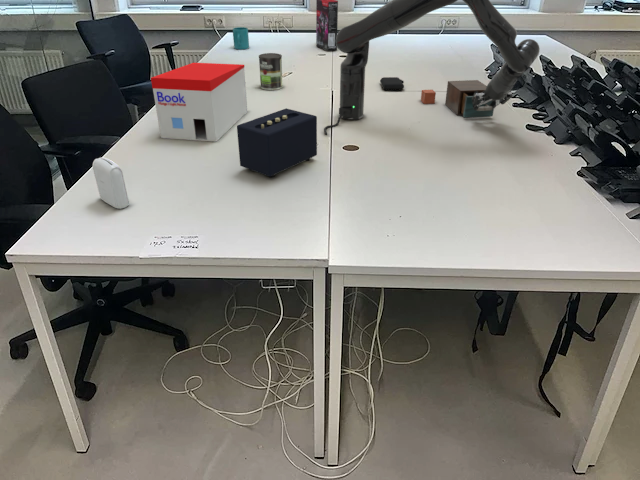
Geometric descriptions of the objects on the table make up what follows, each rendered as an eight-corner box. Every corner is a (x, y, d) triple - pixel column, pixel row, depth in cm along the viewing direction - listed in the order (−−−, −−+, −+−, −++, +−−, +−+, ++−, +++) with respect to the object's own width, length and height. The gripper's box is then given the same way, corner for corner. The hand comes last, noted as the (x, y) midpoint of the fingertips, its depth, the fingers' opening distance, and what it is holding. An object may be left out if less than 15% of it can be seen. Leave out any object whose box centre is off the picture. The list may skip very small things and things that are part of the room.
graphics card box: (315, 46, 322) (315, -3, 308) (325, 45, 325) (325, -3, 311) (327, 52, 309) (327, 1, 295) (338, 50, 311) (338, 0, 297)
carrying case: (406, 91, 236) (402, 82, 249) (407, 84, 234) (402, 76, 247) (382, 91, 236) (379, 83, 249) (383, 84, 234) (379, 76, 247)
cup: (231, 50, 313) (229, 30, 307) (236, 46, 323) (234, 27, 318) (246, 50, 312) (245, 30, 307) (250, 46, 323) (249, 27, 317)
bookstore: (160, 138, 186) (150, 77, 175) (199, 108, 215) (192, 55, 204) (216, 142, 182) (209, 80, 171) (247, 111, 212) (243, 57, 201)
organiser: (488, 114, 208) (492, 89, 203) (457, 115, 206) (460, 90, 201) (474, 103, 220) (477, 79, 215) (445, 104, 219) (447, 81, 214)
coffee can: (275, 91, 237) (273, 58, 230) (256, 88, 241) (254, 56, 234) (287, 85, 245) (286, 54, 238) (268, 83, 249) (266, 52, 242)
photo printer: (98, 199, 145) (87, 156, 138) (112, 194, 147) (103, 152, 141) (117, 211, 139) (107, 167, 132) (132, 205, 141) (122, 162, 135)
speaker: (287, 150, 175) (286, 105, 168) (317, 159, 168) (317, 113, 161) (239, 170, 161) (235, 122, 153) (270, 181, 154) (267, 132, 146)
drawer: (497, 120, 198) (501, 99, 194) (468, 121, 197) (471, 100, 193) (479, 105, 214) (482, 86, 210) (452, 107, 213) (454, 87, 209)
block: (434, 103, 220) (435, 92, 218) (423, 103, 220) (424, 92, 217) (431, 100, 224) (432, 89, 222) (420, 100, 224) (421, 89, 221)
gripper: (483, 94, 179) (465, 117, 196) (523, 92, 181) (503, 116, 197) (479, 74, 181) (462, 99, 197) (519, 73, 183) (499, 98, 199)
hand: (483, 107), depth 197 cm, fingers closed on drawer, 5 cm apart
